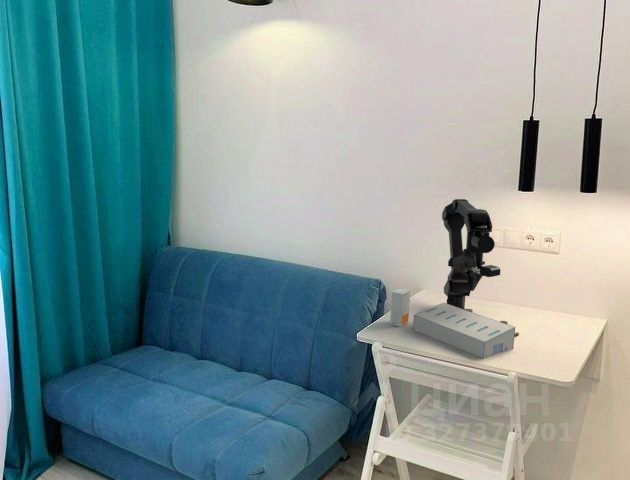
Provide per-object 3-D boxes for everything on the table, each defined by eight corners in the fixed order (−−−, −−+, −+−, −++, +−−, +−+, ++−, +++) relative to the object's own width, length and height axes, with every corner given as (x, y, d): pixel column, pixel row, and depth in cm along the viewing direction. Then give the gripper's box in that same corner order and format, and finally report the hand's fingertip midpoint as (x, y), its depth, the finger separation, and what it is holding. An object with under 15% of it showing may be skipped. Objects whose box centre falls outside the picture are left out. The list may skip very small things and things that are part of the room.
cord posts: (463, 315, 220) (464, 302, 219) (519, 335, 200) (520, 321, 199) (449, 318, 216) (450, 305, 215) (504, 339, 196) (506, 325, 195)
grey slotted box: (413, 330, 205) (414, 309, 203) (442, 322, 213) (443, 302, 211) (483, 359, 181) (485, 335, 179) (513, 349, 189) (515, 327, 187)
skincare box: (400, 327, 207) (402, 294, 204) (389, 324, 209) (391, 291, 207) (409, 322, 211) (410, 290, 209) (398, 320, 214) (400, 287, 211)
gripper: (438, 244, 207) (435, 287, 210) (480, 254, 192) (477, 301, 195) (460, 240, 213) (457, 283, 217) (503, 250, 198) (499, 296, 201)
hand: (471, 290), depth 207 cm, fingers closed
